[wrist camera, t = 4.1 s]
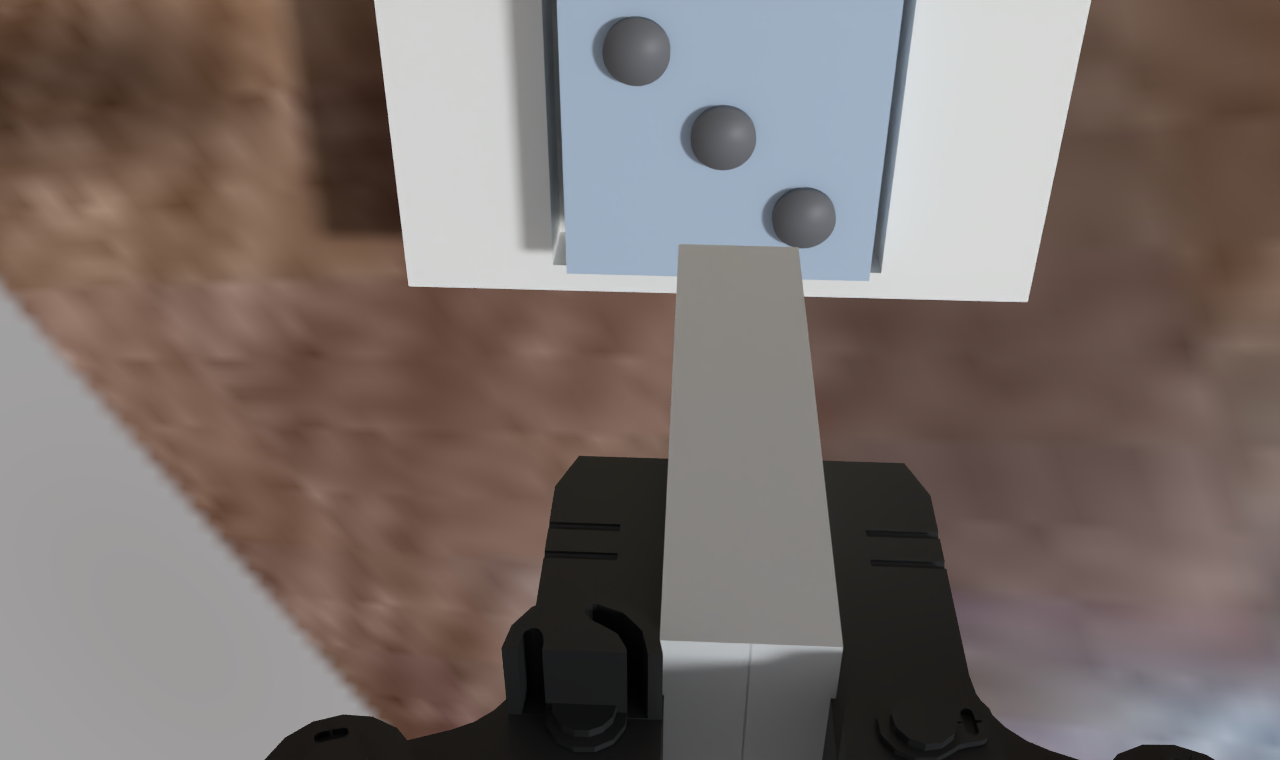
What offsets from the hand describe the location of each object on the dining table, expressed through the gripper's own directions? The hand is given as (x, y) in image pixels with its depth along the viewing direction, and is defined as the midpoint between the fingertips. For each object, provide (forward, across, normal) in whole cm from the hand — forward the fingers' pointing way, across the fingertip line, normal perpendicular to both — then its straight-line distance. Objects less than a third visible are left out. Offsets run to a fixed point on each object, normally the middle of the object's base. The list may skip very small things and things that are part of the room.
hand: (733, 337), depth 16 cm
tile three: (+10, 0, -1) cm, 10 cm away
